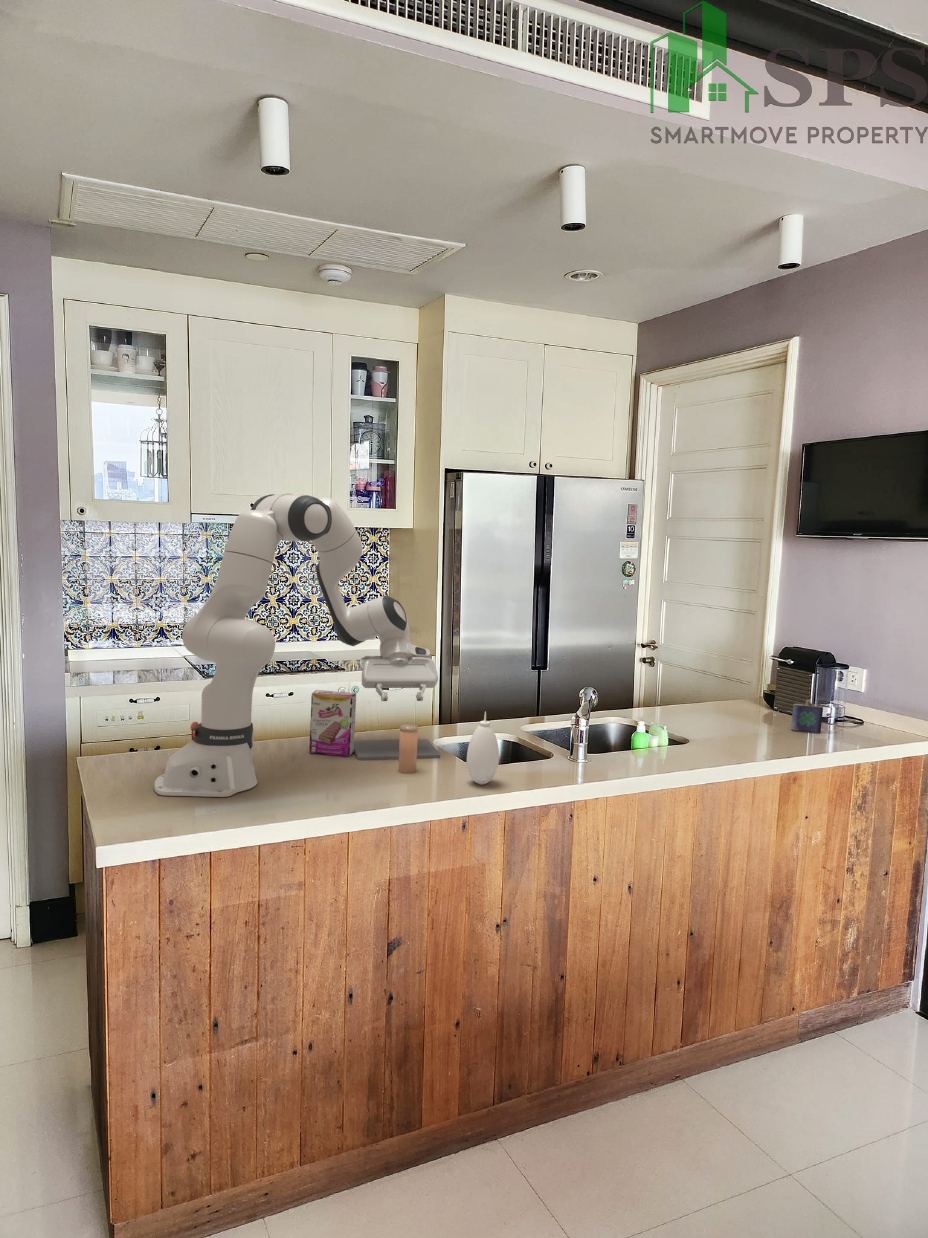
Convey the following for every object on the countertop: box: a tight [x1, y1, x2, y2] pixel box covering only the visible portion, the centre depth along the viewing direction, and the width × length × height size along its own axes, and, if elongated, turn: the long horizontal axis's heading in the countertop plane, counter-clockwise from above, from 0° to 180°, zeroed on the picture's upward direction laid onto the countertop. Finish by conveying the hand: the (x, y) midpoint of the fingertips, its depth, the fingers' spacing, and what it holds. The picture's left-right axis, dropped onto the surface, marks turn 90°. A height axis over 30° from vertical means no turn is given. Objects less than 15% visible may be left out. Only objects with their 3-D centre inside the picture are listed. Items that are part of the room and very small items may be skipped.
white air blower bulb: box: [466, 711, 500, 785], centre depth 202 cm, size 8×8×18 cm
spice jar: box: [397, 723, 419, 774], centre depth 209 cm, size 4×4×11 cm
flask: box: [790, 699, 824, 735], centre depth 273 cm, size 9×3×11 cm, turn 76°
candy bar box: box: [308, 689, 357, 757], centre depth 221 cm, size 11×5×16 cm, turn 84°
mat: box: [353, 738, 441, 761], centre depth 227 cm, size 22×16×1 cm
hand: (402, 700), depth 217 cm, fingers open, 8 cm apart
